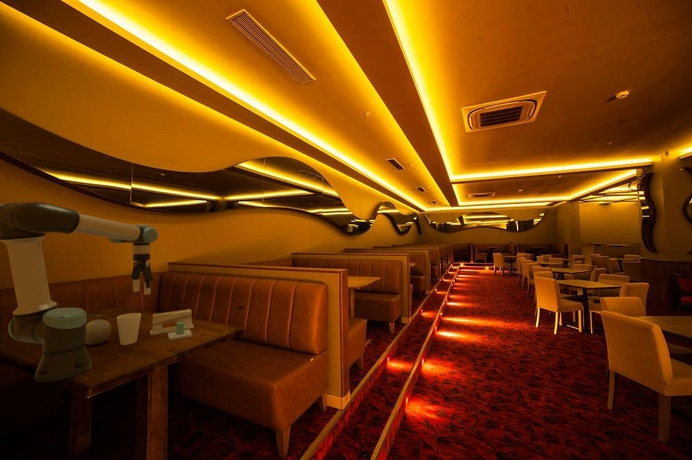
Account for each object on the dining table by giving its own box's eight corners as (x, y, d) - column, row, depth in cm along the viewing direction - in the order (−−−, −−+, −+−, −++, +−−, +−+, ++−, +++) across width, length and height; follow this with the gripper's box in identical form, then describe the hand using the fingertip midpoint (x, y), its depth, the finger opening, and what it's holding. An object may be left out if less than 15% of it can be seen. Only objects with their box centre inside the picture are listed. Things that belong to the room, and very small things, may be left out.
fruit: (118, 340, 141) (118, 310, 141) (92, 349, 130) (92, 316, 130) (102, 338, 143) (103, 308, 144) (76, 346, 132) (76, 314, 133)
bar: (191, 319, 159) (191, 310, 160) (153, 325, 149) (153, 316, 149) (190, 317, 163) (190, 309, 164) (152, 323, 153) (152, 314, 153)
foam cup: (112, 344, 135) (112, 316, 136) (134, 338, 144) (134, 312, 144) (122, 347, 131) (123, 319, 131) (144, 341, 139) (144, 314, 140)
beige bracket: (193, 327, 160) (193, 319, 160) (150, 335, 148) (150, 326, 148) (191, 325, 164) (191, 317, 164) (150, 332, 152) (150, 323, 152)
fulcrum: (192, 336, 145) (192, 323, 145) (169, 341, 139) (169, 327, 139) (189, 331, 153) (189, 319, 153) (167, 335, 147) (167, 322, 147)
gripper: (160, 253, 149) (160, 293, 148) (139, 252, 162) (139, 289, 162) (143, 254, 142) (143, 296, 142) (123, 253, 156) (123, 291, 156)
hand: (141, 292), depth 152 cm, fingers open, 13 cm apart
